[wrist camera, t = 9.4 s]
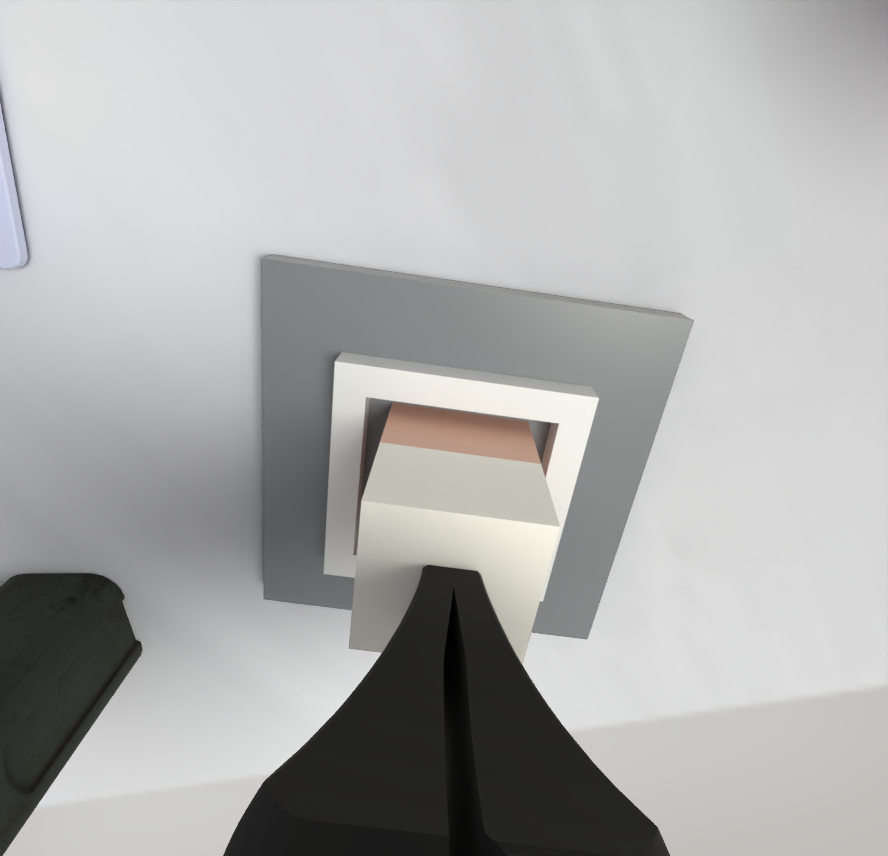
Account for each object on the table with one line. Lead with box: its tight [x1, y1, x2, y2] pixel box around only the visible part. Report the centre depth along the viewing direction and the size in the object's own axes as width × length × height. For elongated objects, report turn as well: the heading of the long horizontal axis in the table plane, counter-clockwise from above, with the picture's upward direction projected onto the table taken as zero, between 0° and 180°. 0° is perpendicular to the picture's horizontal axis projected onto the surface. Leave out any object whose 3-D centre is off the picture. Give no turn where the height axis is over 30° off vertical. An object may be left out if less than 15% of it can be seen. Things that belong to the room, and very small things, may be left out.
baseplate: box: [262, 255, 694, 639], centre depth 18 cm, size 13×13×2 cm
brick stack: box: [349, 402, 560, 664], centre depth 15 cm, size 4×4×6 cm
